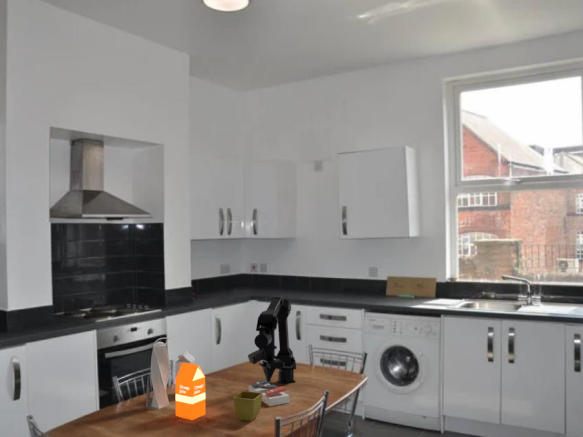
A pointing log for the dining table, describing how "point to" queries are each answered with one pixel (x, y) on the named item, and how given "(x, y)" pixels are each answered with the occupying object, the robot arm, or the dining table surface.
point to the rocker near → (260, 383)
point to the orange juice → (190, 392)
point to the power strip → (273, 399)
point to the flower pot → (247, 405)
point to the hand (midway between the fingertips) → (268, 381)
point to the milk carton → (183, 359)
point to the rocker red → (275, 391)
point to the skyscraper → (158, 376)
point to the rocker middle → (267, 386)
